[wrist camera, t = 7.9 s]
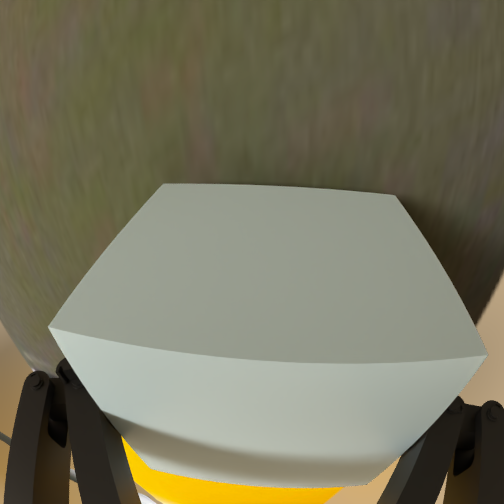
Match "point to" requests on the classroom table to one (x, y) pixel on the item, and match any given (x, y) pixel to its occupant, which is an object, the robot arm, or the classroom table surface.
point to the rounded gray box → (269, 334)
